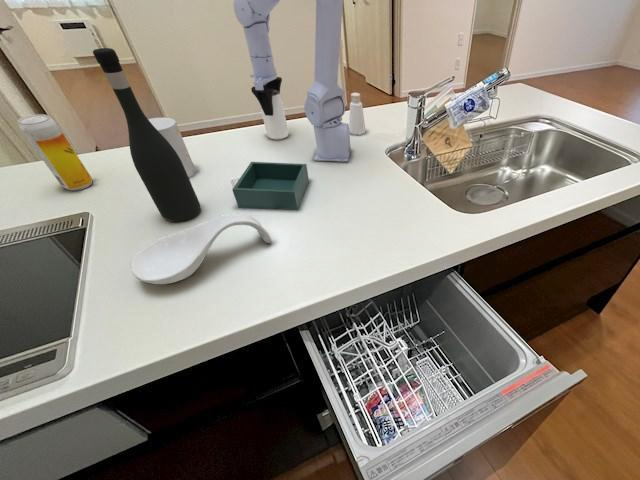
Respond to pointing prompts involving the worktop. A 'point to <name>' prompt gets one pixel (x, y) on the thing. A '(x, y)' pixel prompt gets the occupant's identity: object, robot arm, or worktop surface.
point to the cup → (174, 141)
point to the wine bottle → (151, 149)
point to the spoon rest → (185, 249)
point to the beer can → (55, 151)
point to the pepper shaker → (356, 116)
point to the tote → (271, 186)
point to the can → (276, 119)
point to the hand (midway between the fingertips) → (272, 110)
